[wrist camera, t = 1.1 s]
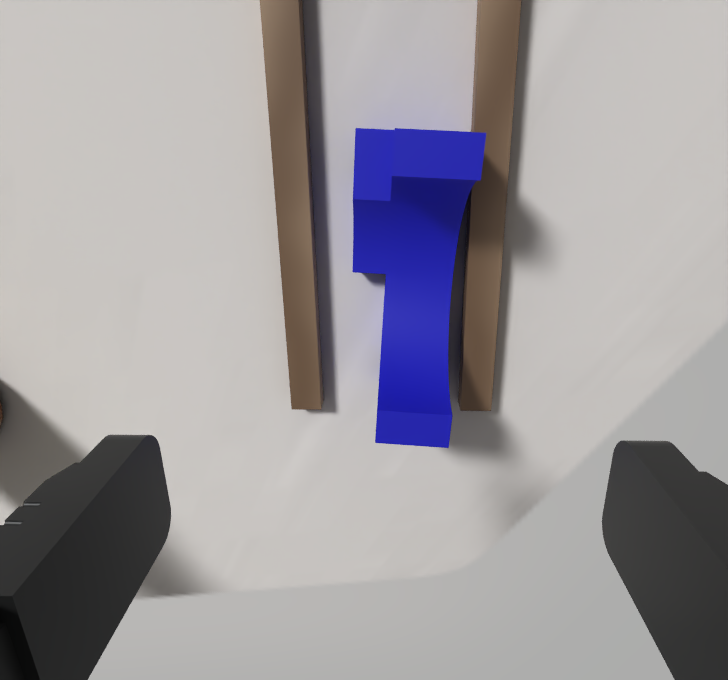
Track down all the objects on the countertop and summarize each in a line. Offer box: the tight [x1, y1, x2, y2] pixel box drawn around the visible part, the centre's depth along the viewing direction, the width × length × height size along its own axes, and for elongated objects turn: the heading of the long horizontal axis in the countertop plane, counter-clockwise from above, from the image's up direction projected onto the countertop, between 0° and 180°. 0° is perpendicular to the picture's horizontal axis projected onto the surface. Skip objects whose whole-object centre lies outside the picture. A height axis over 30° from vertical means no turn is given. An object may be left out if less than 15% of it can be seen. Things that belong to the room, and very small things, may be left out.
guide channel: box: [260, 0, 521, 411], centre depth 20 cm, size 11×26×5 cm, turn 1°
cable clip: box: [353, 128, 486, 448], centre depth 22 cm, size 12×4×6 cm, turn 177°
